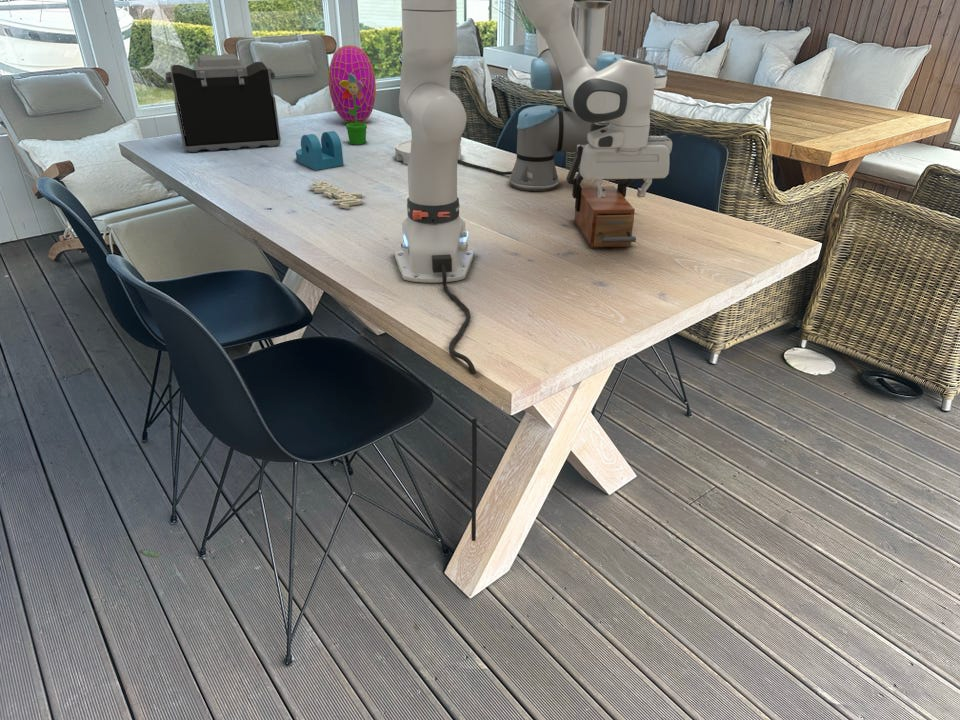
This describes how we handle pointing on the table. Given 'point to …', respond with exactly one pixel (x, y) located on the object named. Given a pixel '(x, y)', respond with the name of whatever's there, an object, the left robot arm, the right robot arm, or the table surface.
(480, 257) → the table surface
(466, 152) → the table surface
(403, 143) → the ashtray
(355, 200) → the decorative sign
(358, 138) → the potted flower
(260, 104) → the electronic device
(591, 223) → the cabinet
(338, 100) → the decorative egg
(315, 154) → the camera mount
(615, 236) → the drawer
